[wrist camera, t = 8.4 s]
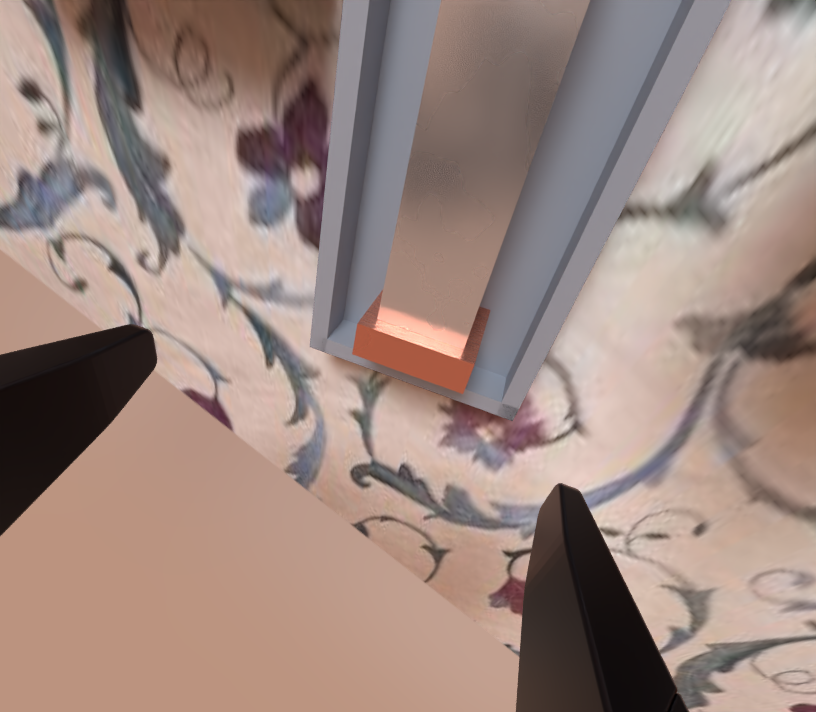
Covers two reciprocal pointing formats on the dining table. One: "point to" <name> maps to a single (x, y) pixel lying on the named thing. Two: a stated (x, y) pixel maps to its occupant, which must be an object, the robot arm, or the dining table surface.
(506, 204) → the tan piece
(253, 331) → the dining table surface
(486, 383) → the tray
